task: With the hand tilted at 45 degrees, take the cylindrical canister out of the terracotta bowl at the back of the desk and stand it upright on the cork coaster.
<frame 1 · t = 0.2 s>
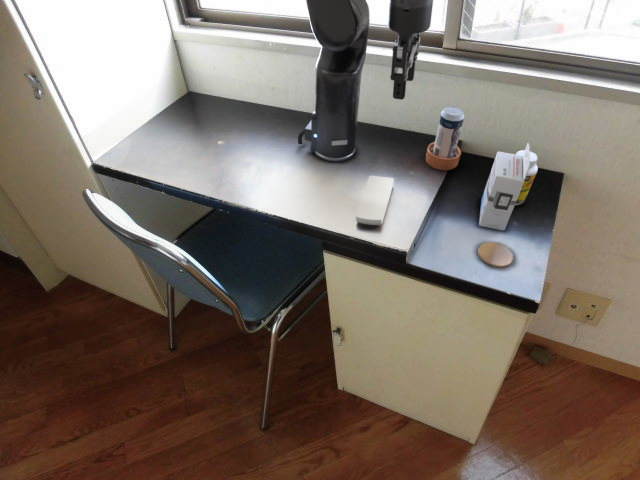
hand: (403, 88, 93), 17 cm above the table, tool pointing down, fingers open, 8 cm apart
ink box: (491, 216, 93), on the table
cylindrical canister: (441, 160, 105), resting on terracotta bowl
coaster: (495, 255, 84), on the table
terracotta bowl: (441, 161, 106), on the table
supplement bottle: (510, 198, 97), on the table
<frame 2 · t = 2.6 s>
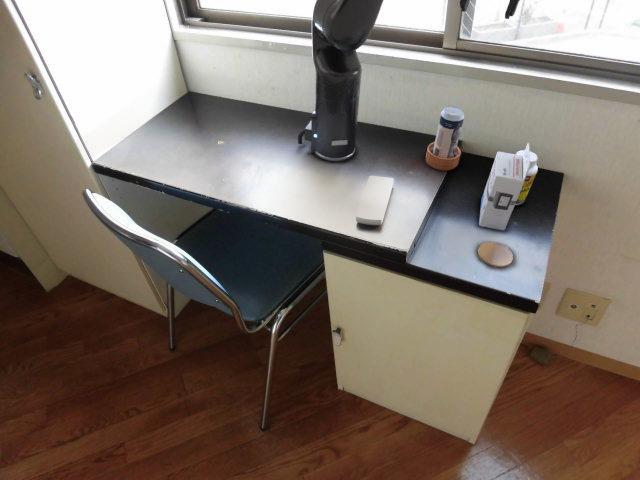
hand: (484, 13, 92), 29 cm above the table, tool tilted 40°, fingers open, 8 cm apart
nothing on the table moved.
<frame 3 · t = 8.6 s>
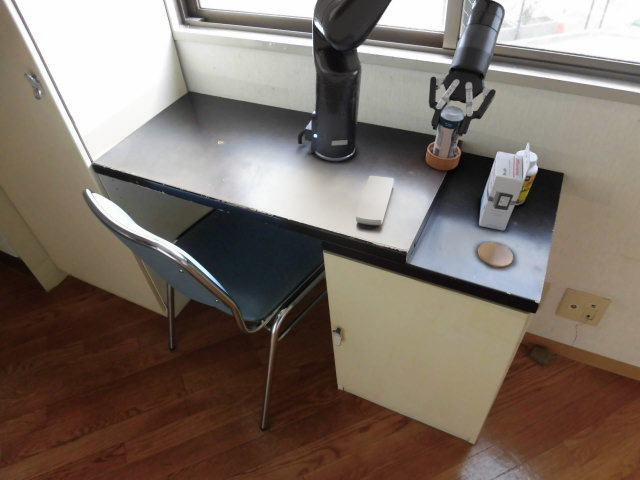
hand: (447, 131, 98), 9 cm above the table, tool tilted 45°, fingers closed on cylindrical canister, 4 cm apart
cylindrical canister: (441, 160, 105), resting on terracotta bowl, touching gripper
everything else where it was.
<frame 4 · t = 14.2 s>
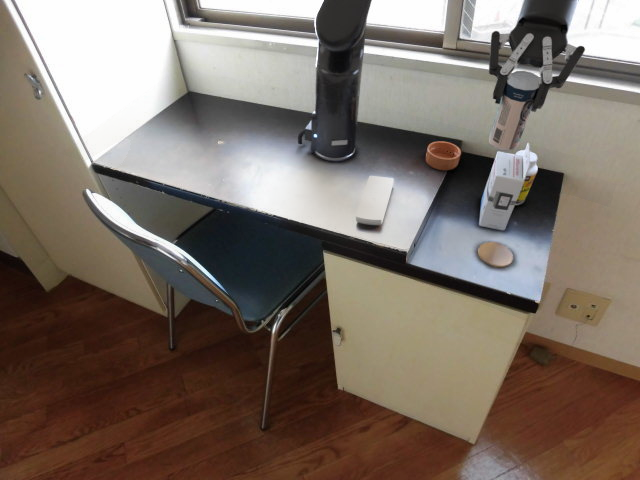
hand: (515, 105, 73), 25 cm above the table, tool tilted 45°, fingers closed on cylindrical canister, 4 cm apart
cylindrical canister: (502, 146, 80), point 17 cm above the table, touching gripper
everything else where it was.
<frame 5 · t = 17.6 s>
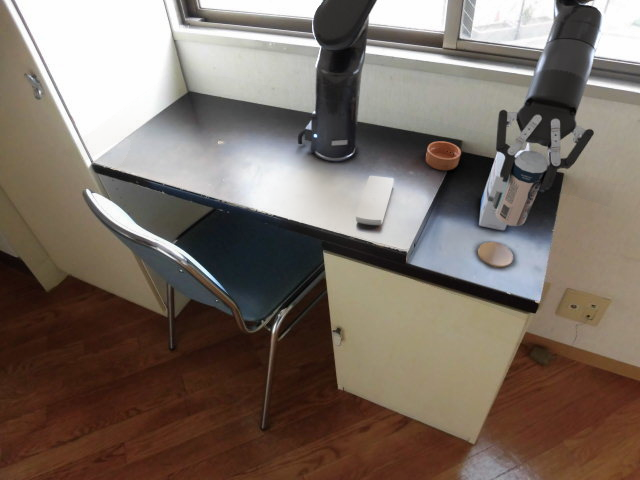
hand: (523, 185, 72), 17 cm above the table, tool tilted 45°, fingers closed on cylindrical canister, 4 cm apart
cylindrical canister: (509, 219, 79), point 8 cm above the table, touching gripper
everything else where it was.
when the fingers open (9 cm above the table, at t = 20.2 s): cylindrical canister stays where it is, resting on coaster.
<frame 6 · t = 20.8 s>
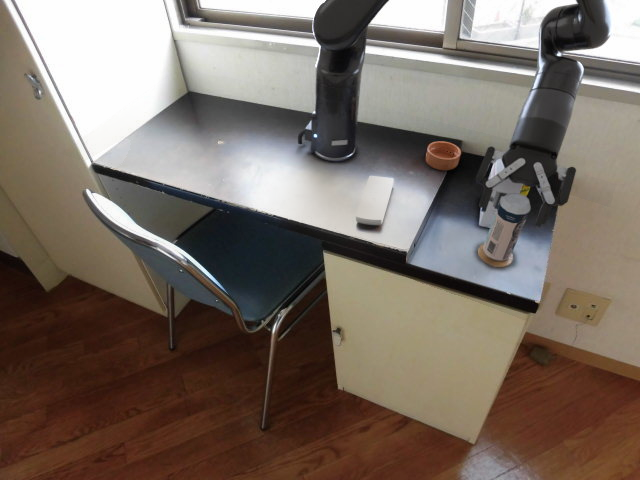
hand: (509, 219, 77), 10 cm above the table, tool tilted 45°, fingers open, 8 cm apart
cylindrical canister: (495, 253, 84), resting on coaster
everything else where it was.
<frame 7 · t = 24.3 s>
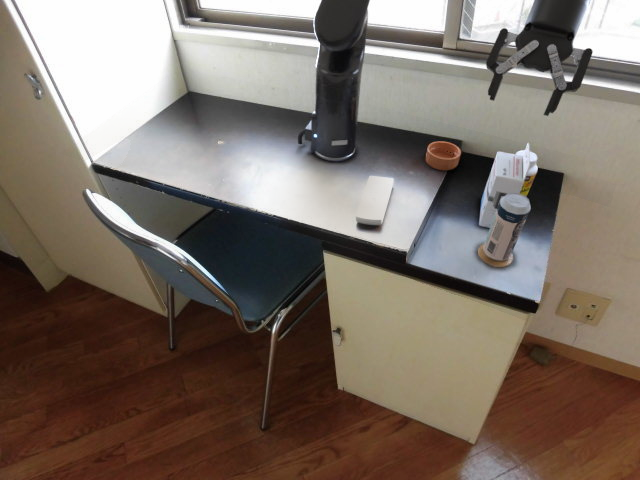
hand: (518, 107, 75), 24 cm above the table, tool tilted 35°, fingers open, 8 cm apart
nothing on the table moved.
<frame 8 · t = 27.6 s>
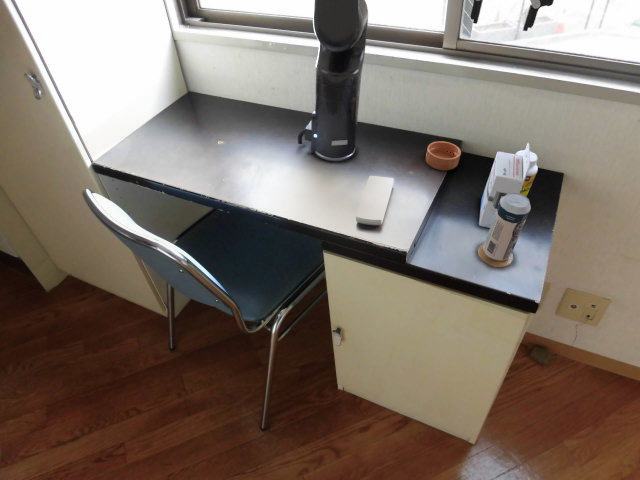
hand: (500, 25, 83), 30 cm above the table, tool pointing down, fingers open, 8 cm apart
nothing on the table moved.
at the end: cylindrical canister 0.2 cm off-centre on the coaster, point 0.2 cm above the coaster's base; cylindrical canister touching coaster; cylindrical canister tilted 0° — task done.
